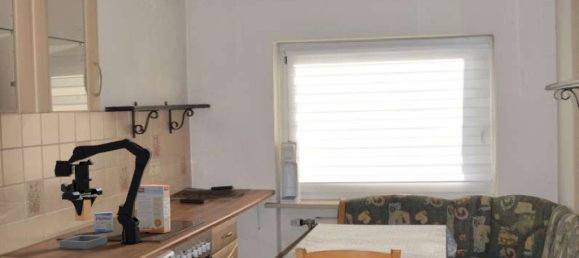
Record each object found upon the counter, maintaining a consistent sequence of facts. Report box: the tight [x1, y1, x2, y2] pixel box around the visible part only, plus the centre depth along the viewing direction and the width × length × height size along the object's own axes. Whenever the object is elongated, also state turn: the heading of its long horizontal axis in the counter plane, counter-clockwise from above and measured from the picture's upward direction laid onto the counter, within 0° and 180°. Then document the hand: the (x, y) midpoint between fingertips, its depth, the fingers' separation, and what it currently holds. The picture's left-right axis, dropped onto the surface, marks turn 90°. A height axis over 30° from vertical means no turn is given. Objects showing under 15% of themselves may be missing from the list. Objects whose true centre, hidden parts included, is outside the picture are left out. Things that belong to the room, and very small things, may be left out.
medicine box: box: [93, 211, 114, 234], centre depth 318 cm, size 8×4×9 cm, turn 106°
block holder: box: [59, 234, 108, 251], centre depth 284 cm, size 13×13×3 cm
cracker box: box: [136, 184, 172, 234], centre depth 314 cm, size 14×6×21 cm, turn 67°
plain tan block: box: [74, 200, 92, 222], centre depth 288 cm, size 4×4×8 cm
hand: (83, 214), depth 288 cm, fingers closed on plain tan block, 4 cm apart
